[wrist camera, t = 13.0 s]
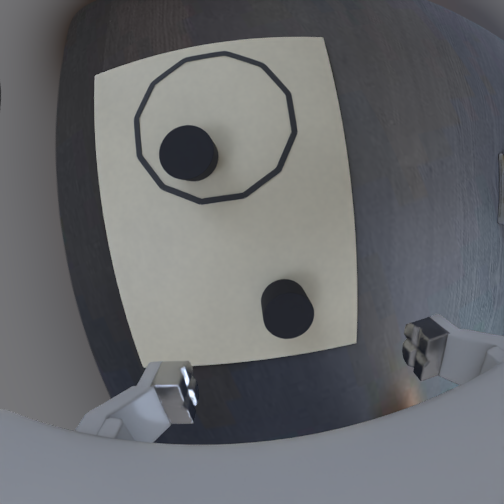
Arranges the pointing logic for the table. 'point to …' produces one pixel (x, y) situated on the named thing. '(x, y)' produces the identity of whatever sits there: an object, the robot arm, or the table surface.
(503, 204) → the coffee box
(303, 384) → the table surface
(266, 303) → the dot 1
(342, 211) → the sheet
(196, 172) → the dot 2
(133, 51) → the table surface
